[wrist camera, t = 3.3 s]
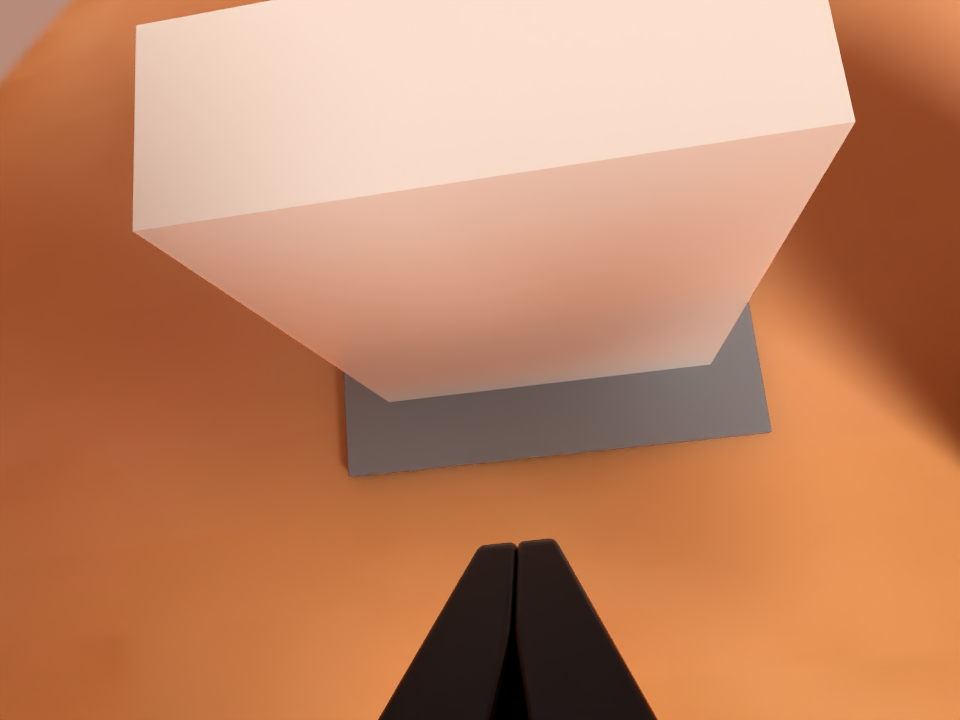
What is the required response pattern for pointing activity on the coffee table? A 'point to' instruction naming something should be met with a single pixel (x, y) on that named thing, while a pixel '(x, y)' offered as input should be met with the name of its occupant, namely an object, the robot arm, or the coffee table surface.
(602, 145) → the tile
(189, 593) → the coffee table surface
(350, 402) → the mat
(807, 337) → the coffee table surface
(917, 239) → the coffee table surface
